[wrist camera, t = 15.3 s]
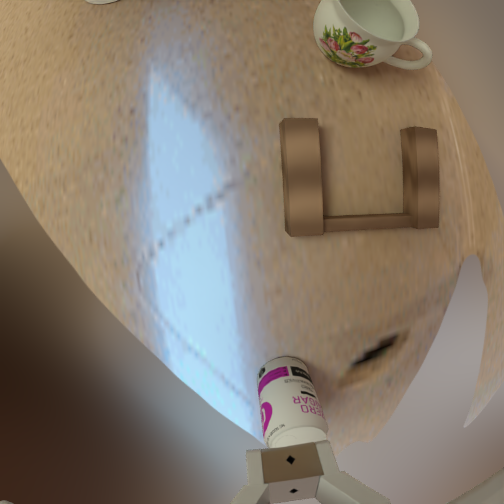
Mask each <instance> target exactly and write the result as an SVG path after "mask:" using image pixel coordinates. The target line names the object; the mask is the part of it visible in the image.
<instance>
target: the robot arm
mask: <svg viewBox="0 0 504 504" xmlns="http://www.w3.org/2000/svg"><path fill="white" fill-rule="evenodd" d="M86 1H87V2H89V3H92V4H106V3H111V2H114V1H117V0H86ZM246 462H247V478H248V485H244V486H243V487H242V489H241V490H240V492H239V493H238V494H237V495H236V497H235V498H234V499H233V501H232V502H231V503H230V504H273V503H281V502H288V501H294V500H302V499H309V498H315V497H316V499H317V500H318V501H319V502H320V503H321V504H391V503H390V500H389V499H388V498H386V497H385V496H383V495H381V494H379V493H378V492H376V491H374V490H373V489H371V488H369V487H368V486H366V485H364V484H363V483H361V482H360V481H358V480H356V479H355V478H353V477H352V476H350V475H349V474H347V473H346V472H344V471H341V472H340V471H339V468H338V465H337V462H336V460H335V457H334V454H333V451H332V448H331V445H330V442H329V441H328V440H322V441H317V442H309V443H304V444H298V445H291V446H287V447H278V448H267V449H261V451H260V449H253V450H246ZM0 504H12V503H11V502H8V501H0ZM446 504H504V467H503V468H502V469H500V470H499V471H498V472H496V473H495V474H493V475H492V476H491V477H489V478H488V479H486V480H485V481H483V482H482V483H480V484H479V485H477V486H475V487H474V488H472V489H471V490H469V491H467V492H466V493H464V494H462V495H461V496H459V497H457V498H456V499H454V500H452V501H450V502H448V503H446Z"/></svg>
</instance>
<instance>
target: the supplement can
mask: <svg viewBox="0 0 504 504" xmlns="http://www.w3.org/2000/svg"><path fill="white" fill-rule="evenodd" d="M257 385H258V394H259V403H260V411H261V420H262V428H263V436H264V441H265V443H266V445H267V447H268V448H278V447H287V446H291V445H298V444H304V443H309V442H317V441H322V440H326V435H327V432H328V426H327V422H326V419H325V416H324V414H323V411H322V408H321V405H320V402H319V400H318V397H317V394H316V391H315V389H314V386H313V383H312V380H311V378H310V375H309V372H308V370H307V367H306V366H305V365H304V363H303V362H302V361H300V360H298V359H296V358H290V357H282V358H276V359H274V360H272V361H269V362H268V363H266V364H265V365H264V366H263V367H262V368H261V369H260V371H259V373H258V376H257Z"/></svg>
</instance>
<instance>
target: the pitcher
mask: <svg viewBox="0 0 504 504" xmlns="http://www.w3.org/2000/svg"><path fill="white" fill-rule="evenodd" d="M418 30H419V17H418V14H417V11H416V9H415V7H414V5H413V4H412V2H411V1H410V0H321V2H320V4H319V5H318V7H317V10H316V13H315V16H314V22H313V31H314V37H315V40H316V43H317V45H318V47H319V48H320V50H321V51H322V53H323V54H324V55H325V56H326V57H328V58H329V59H330V60H332V61H333V62H335V63H337V64H339V65H342V66H346V67H353V68H360V67H368V66H372V65H376V64H378V63H381V62H385V63H387V64H389V65H392V66H395V67H398V68H402V69H407V70H418V69H422V68H424V67H426V66H427V65H429V64H430V62H431V60H432V51H431V49H430V48H429V46H428V45H427V44H425V43H424V42H423V41H421V40H420V39H417V38H415V36H416V34H417V32H418ZM403 44H404V45H410V46H413V47H415V48H417V49H418V50H420V51H421V52H422V53H423V57H422V58H421V59H419V60H416V61H407V60H402V59H398V58H395V57H392V55H393V54H394V53H395V52H396V51H397V50H398V48H399V47H400V45H403Z"/></svg>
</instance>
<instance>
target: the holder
mask: <svg viewBox="0 0 504 504" xmlns="http://www.w3.org/2000/svg"><path fill="white" fill-rule="evenodd" d="M279 129H280V143H281V158H282V175H283V192H284V212H285V231H286V232H287V233H288V234H289V235H290V236H291V237H296V236H310V235H323V232H333V231H349V230H366V229H383V228H401V227H414V228H417V229H424V228H438V226H439V157H438V142H437V130H435V129H429V128H423V127H416V126H414V127H410V128H405V129H401V130H400V132H401V145H402V162H403V213H396V214H368V215H344V216H324V217H323V201H322V176H321V158H320V143H319V129H318V119H316V118H284V119H283V120H282V122H281V123H280V124H279Z"/></svg>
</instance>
